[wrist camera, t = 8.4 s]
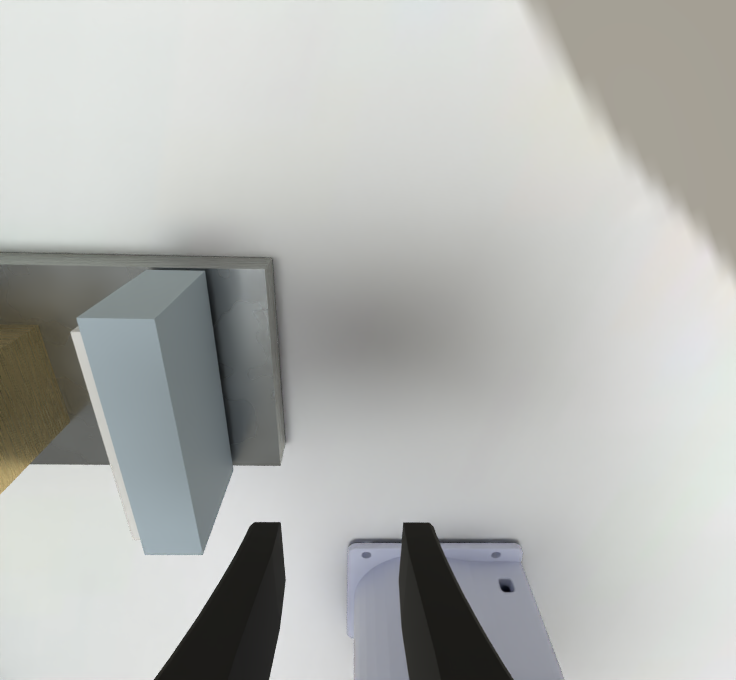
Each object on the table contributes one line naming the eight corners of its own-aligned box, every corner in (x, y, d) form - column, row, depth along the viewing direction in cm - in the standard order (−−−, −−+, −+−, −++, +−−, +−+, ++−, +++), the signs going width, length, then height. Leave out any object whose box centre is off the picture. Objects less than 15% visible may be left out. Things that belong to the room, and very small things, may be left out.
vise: (272, 257, 17) (231, 320, 11) (285, 443, 21) (260, 554, 15) (-159, 249, 16) (-411, 310, 11) (-62, 441, 20) (-213, 554, 15)
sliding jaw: (204, 270, 15) (154, 318, 11) (233, 470, 19) (202, 555, 15) (134, 269, 15) (60, 317, 11) (177, 469, 19) (133, 554, 15)
